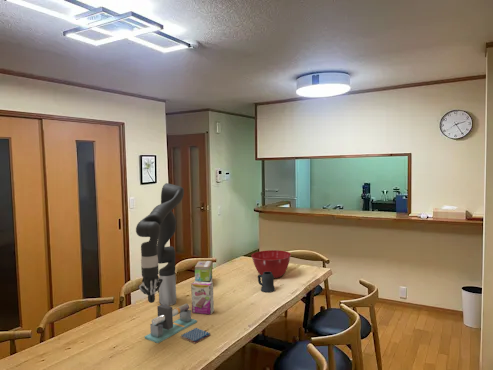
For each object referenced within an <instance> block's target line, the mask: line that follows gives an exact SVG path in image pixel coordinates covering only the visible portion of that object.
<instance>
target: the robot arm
mask: <svg viewBox="0 0 493 370" xmlns="http://www.w3.org/2000/svg"><path fill="white" fill-rule="evenodd" d="M184 195H185V190H184V187H182V186H180V185H178V184H172V183H164V184H163V186H162V187H161V193H160V204H158V205H156V206H155V207H153V209H152V211H151V212H150V213H149V214H148V215H147V216H145V217H144V218H142V219H141V220H140V221H139V222H138V223H137V224H136V227H135V232H136V235H137V236H138V237H141V238H149V240H148V241H144V242H142V243H141V244H140V251H141V252H140V254H141V258H140V266H141V277H142V281H141V284H138V286H137V287H138V289H139V290H140V291H141V292H142V293H143V294H144V295H147V301H148V302H149V303H150V304H152V303H154V302H155V301H156V300H155V299H156V298H155V297H156V296H155V295H156V292H158V303H159V304H160V305H161V304H163V305H167V306H173V305H176V303H177V285H176V279H177V278H176V250H175V247H174V246H172V245H171V246H166V245H167V243H168V242H169V241H170V240H171V238H172V237H173V236H174V235H175V233H176V229H177V218H176V216H175V214H174V212H173V210H174V209H175V208H176V207H177V206H178V205H179V204H180V203H181V202H182V200H183V199H184ZM160 264H166V265H165V266H163V267H162V268H160V269H159V265H160Z"/></svg>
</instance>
